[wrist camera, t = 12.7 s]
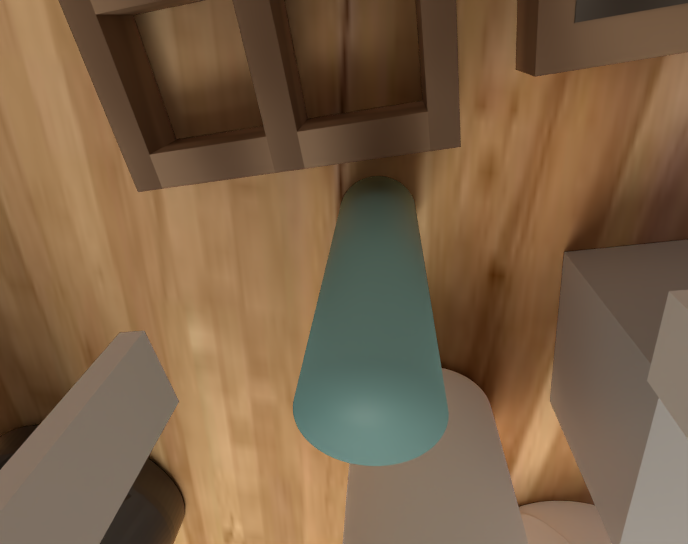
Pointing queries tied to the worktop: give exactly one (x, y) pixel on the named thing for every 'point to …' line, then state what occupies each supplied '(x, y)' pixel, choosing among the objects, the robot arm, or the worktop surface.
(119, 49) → the board
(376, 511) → the beverage can
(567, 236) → the worktop surface
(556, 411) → the cover
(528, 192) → the worktop surface
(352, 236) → the pin
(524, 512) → the mug
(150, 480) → the robot arm
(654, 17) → the board
